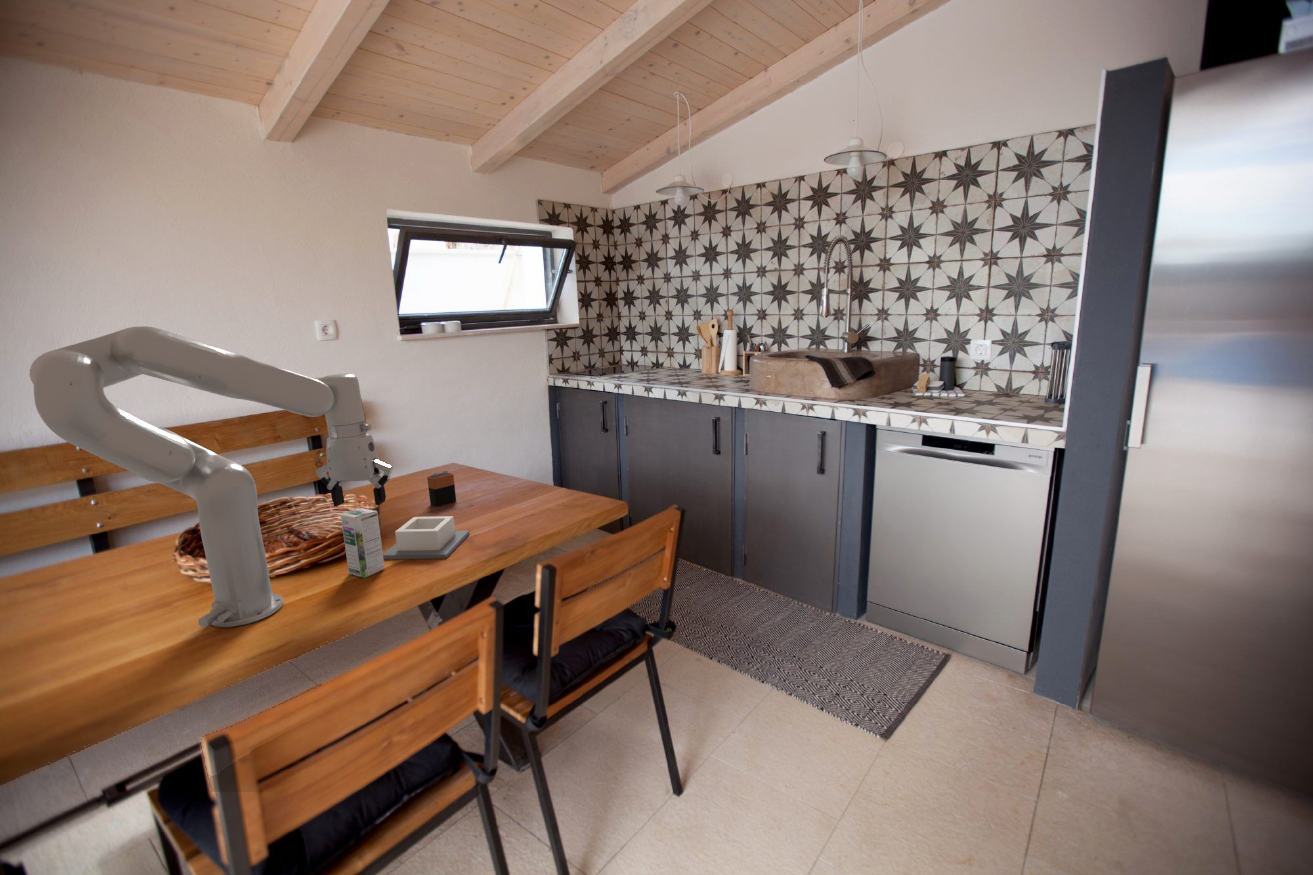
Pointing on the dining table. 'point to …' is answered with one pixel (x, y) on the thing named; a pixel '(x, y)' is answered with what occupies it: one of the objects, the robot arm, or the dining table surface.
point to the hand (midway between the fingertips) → (360, 503)
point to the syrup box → (362, 542)
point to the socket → (426, 539)
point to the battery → (441, 488)
